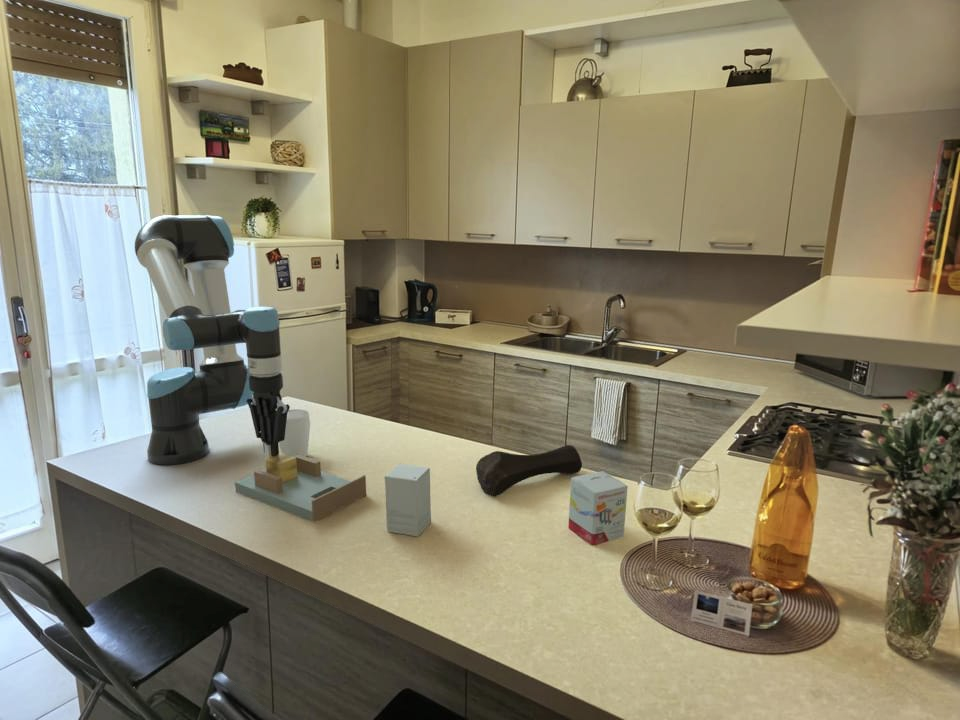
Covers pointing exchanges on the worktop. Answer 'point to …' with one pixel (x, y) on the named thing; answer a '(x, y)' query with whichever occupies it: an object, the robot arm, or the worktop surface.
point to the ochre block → (282, 466)
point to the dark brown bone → (523, 467)
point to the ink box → (597, 507)
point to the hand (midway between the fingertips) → (272, 467)
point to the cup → (296, 433)
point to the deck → (303, 490)
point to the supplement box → (408, 499)
